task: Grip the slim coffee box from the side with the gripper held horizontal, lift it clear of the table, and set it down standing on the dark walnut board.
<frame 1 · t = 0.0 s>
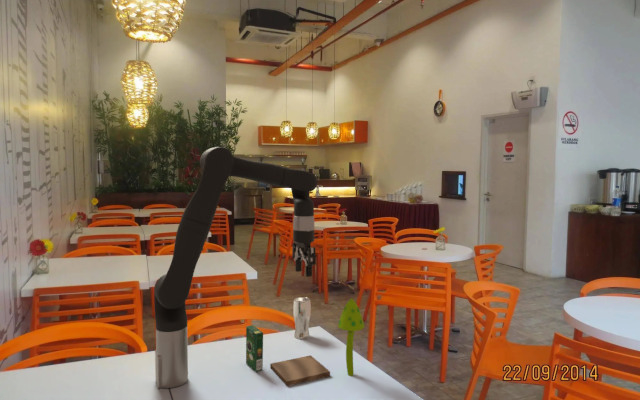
hand: (303, 273, 154), 29 cm above the table, tool pointing down, fingers open, 8 cm apart
coffee box: (254, 367, 145), on the table
mushroom: (350, 375, 141), on the table
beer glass: (301, 336, 173), on the table
walnut board: (299, 372, 142), on the table
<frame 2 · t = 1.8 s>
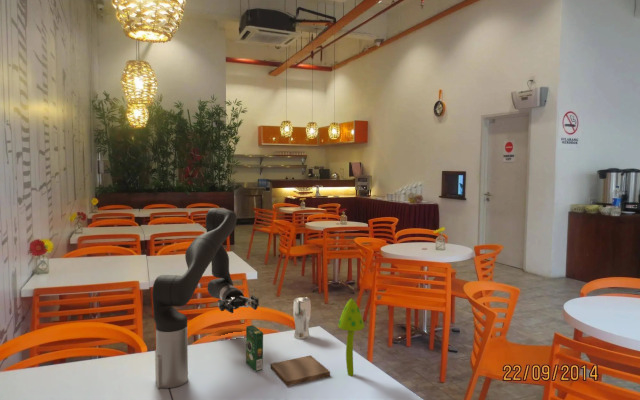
hand: (244, 308, 154), 17 cm above the table, tool horizontal, fingers open, 8 cm apart
nothing on the table moved.
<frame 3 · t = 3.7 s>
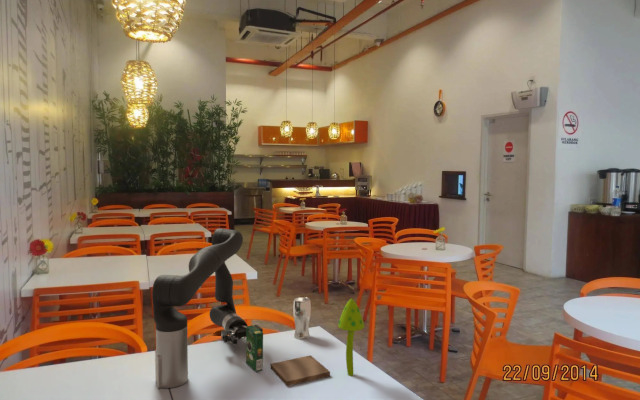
hand: (248, 340, 150), 7 cm above the table, tool horizontal, fingers open, 8 cm apart
nothing on the table moved.
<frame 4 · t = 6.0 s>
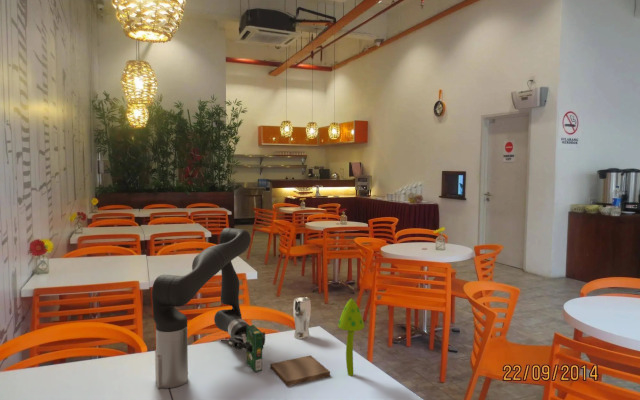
hand: (256, 348, 143), 7 cm above the table, tool horizontal, fingers closed on coffee box, 3 cm apart
coffee box: (254, 367, 145), on the table, touching gripper
everything else where it was.
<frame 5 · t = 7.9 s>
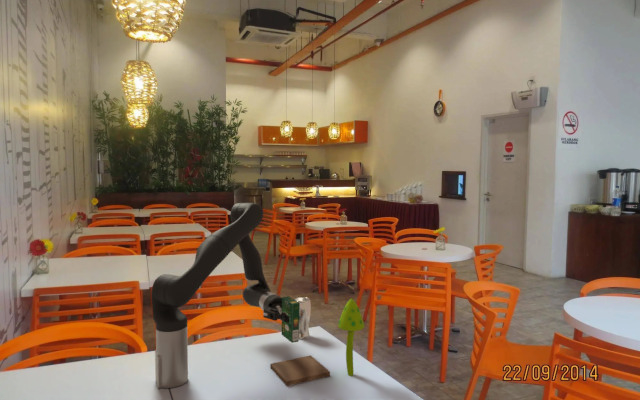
hand: (293, 319, 141), 18 cm above the table, tool horizontal, fingers closed on coffee box, 3 cm apart
coffee box: (290, 339, 143), point 10 cm above the table, touching gripper
everything else where it was.
when the fingers open (10 cm above the table, at t = 10.3 s): coffee box drops 1 cm, resting on walnut board.
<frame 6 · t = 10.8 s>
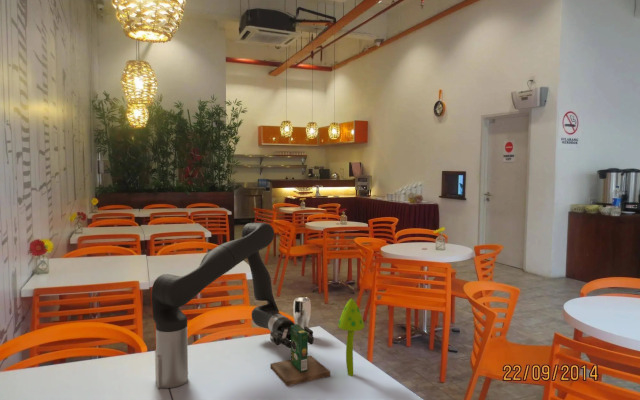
hand: (301, 343, 140), 10 cm above the table, tool horizontal, fingers open, 7 cm apart
coffee box: (299, 367, 142), point 1 cm above the table, touching walnut board
everything else where it was.
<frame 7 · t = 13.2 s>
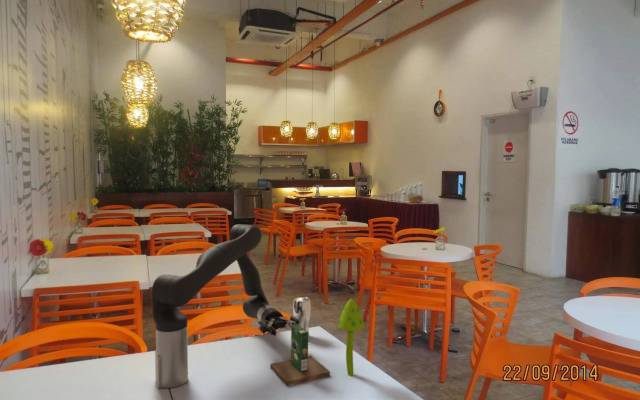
hand: (286, 331, 151), 10 cm above the table, tool horizontal, fingers open, 8 cm apart
nothing on the table moved.
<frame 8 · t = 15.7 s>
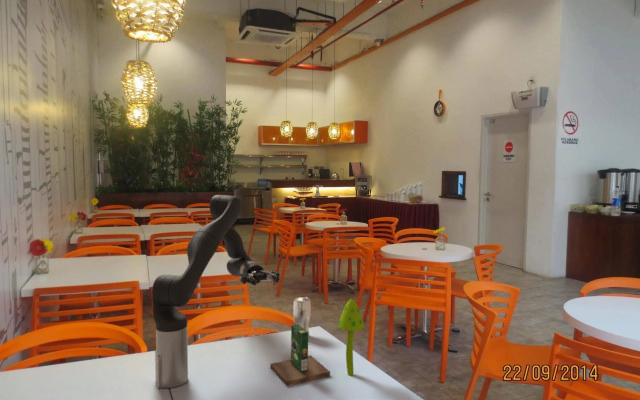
hand: (266, 281, 156), 26 cm above the table, tool horizontal, fingers open, 8 cm apart
nothing on the table moved.
at the end: coffee box inside the target area on the walnut board (0.2 cm from its centre), point 1.3 cm above the walnut board's base; coffee box tilted 0°; the gripper is holding nothing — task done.
